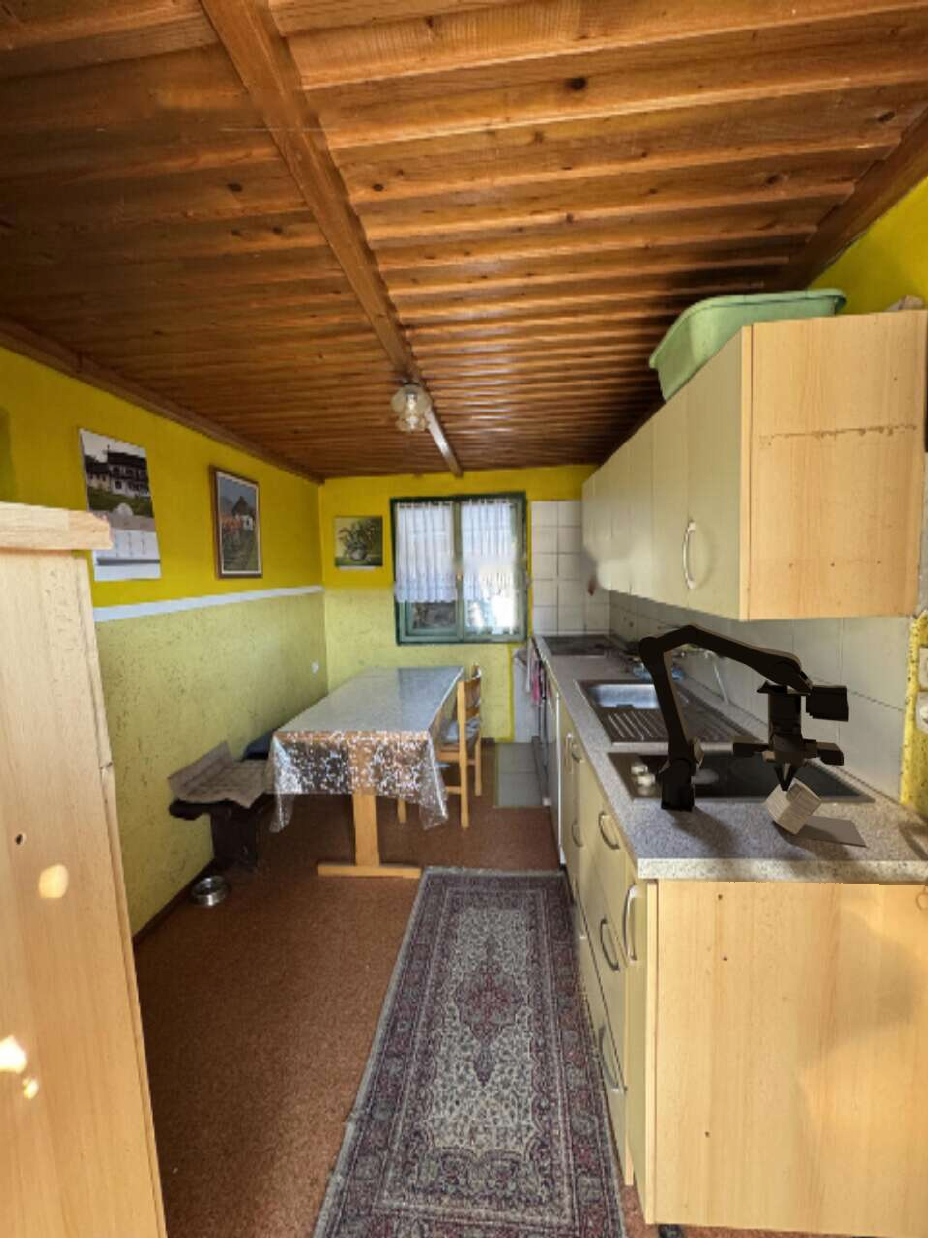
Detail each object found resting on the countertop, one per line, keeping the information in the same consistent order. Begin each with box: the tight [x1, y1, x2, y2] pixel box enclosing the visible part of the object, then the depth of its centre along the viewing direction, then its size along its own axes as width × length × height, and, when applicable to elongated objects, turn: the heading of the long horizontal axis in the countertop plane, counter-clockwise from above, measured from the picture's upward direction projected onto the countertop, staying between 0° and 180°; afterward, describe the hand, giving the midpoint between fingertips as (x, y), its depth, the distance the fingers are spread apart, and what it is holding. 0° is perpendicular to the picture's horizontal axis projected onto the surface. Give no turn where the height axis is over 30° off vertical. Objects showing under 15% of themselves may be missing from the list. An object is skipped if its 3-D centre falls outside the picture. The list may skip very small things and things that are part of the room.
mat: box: [795, 814, 867, 848], centre depth 101 cm, size 11×10×1 cm
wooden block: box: [762, 777, 823, 836], centre depth 103 cm, size 8×4×9 cm
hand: (784, 790), depth 102 cm, fingers closed
